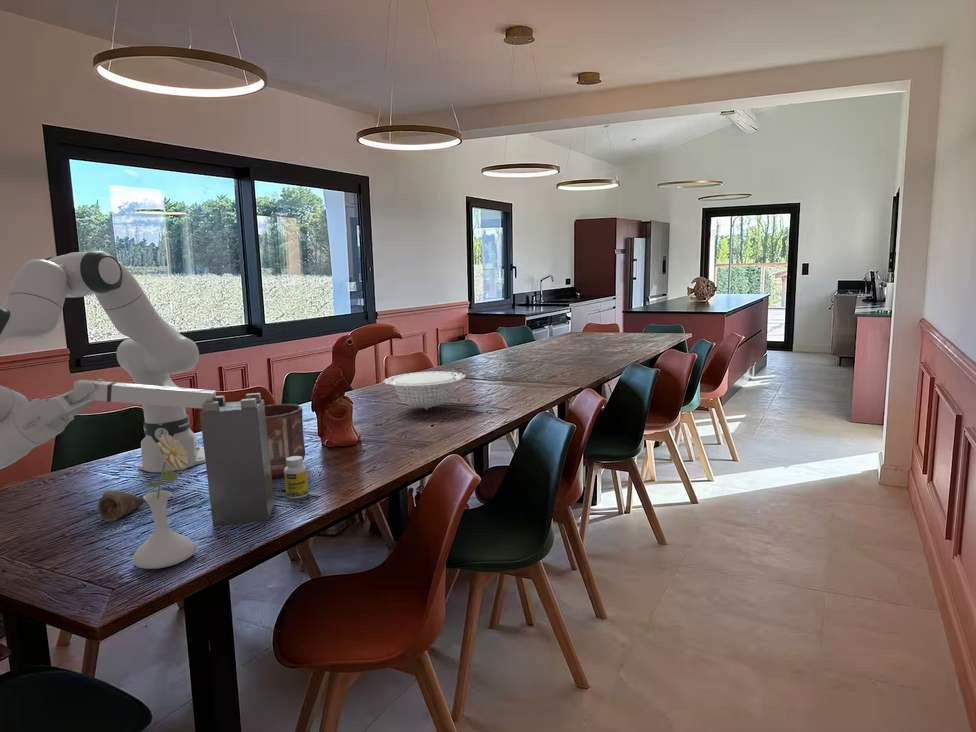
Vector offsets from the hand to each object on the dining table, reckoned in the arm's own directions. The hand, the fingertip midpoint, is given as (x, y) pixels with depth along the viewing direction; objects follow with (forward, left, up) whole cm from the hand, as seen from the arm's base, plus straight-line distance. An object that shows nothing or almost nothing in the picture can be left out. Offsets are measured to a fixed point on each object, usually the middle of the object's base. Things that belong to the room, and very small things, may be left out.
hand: (98, 383), depth 144 cm
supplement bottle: (-10, +38, -34) cm, 52 cm away
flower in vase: (+21, +16, -34) cm, 43 cm away
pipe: (-13, -5, -34) cm, 37 cm away
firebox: (0, +27, -33) cm, 43 cm away
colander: (-97, +79, -34) cm, 130 cm away
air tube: (0, +9, -5) cm, 10 cm away
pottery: (-32, +30, -34) cm, 55 cm away
